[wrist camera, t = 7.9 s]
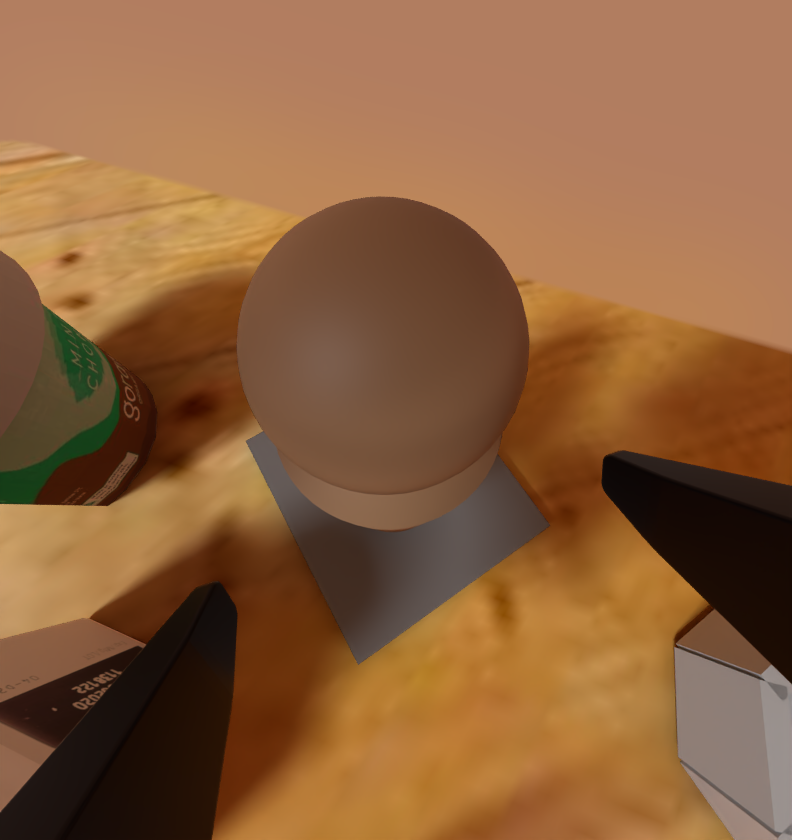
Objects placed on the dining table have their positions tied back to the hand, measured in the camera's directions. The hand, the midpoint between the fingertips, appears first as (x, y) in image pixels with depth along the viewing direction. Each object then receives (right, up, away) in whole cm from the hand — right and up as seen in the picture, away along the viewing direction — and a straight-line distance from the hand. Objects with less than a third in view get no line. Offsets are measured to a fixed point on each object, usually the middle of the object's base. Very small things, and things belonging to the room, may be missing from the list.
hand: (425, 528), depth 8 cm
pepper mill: (-1, -1, +10) cm, 10 cm away
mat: (-1, -1, +10) cm, 11 cm away
